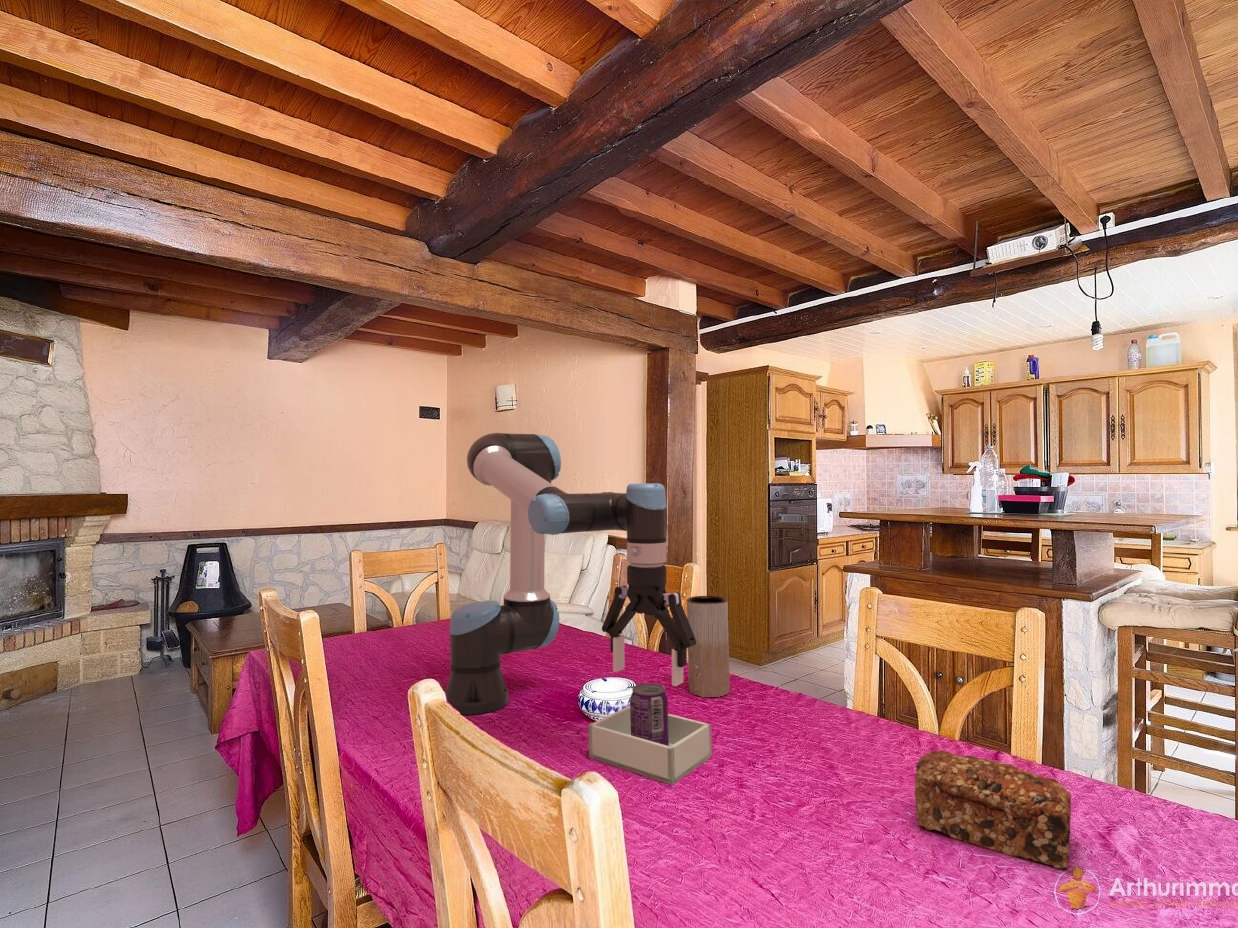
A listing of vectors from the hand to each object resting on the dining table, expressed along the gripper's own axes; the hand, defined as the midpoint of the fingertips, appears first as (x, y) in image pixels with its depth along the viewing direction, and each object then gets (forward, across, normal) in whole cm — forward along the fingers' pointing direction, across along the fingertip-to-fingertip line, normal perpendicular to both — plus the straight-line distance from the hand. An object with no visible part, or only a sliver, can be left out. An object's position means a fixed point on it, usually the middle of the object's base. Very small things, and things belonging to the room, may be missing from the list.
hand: (647, 676), depth 117 cm
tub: (+15, +1, 0) cm, 15 cm away
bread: (+14, +55, +8) cm, 58 cm away
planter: (+15, -9, +39) cm, 43 cm away
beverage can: (+14, +1, 0) cm, 14 cm away
